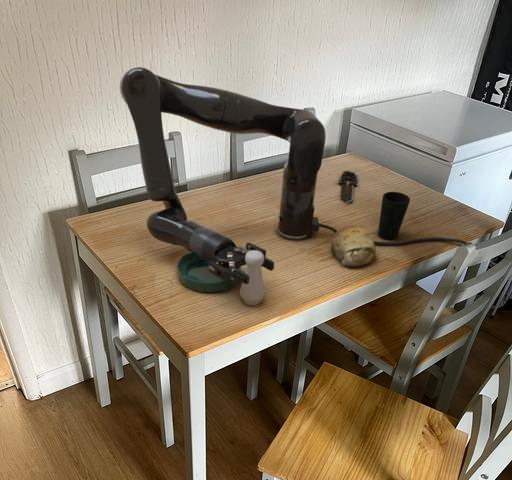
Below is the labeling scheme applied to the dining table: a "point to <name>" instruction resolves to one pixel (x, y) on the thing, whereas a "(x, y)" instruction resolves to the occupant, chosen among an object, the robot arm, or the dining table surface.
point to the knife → (350, 185)
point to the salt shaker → (253, 278)
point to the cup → (392, 214)
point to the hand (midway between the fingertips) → (260, 273)
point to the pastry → (353, 246)
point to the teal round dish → (200, 275)
